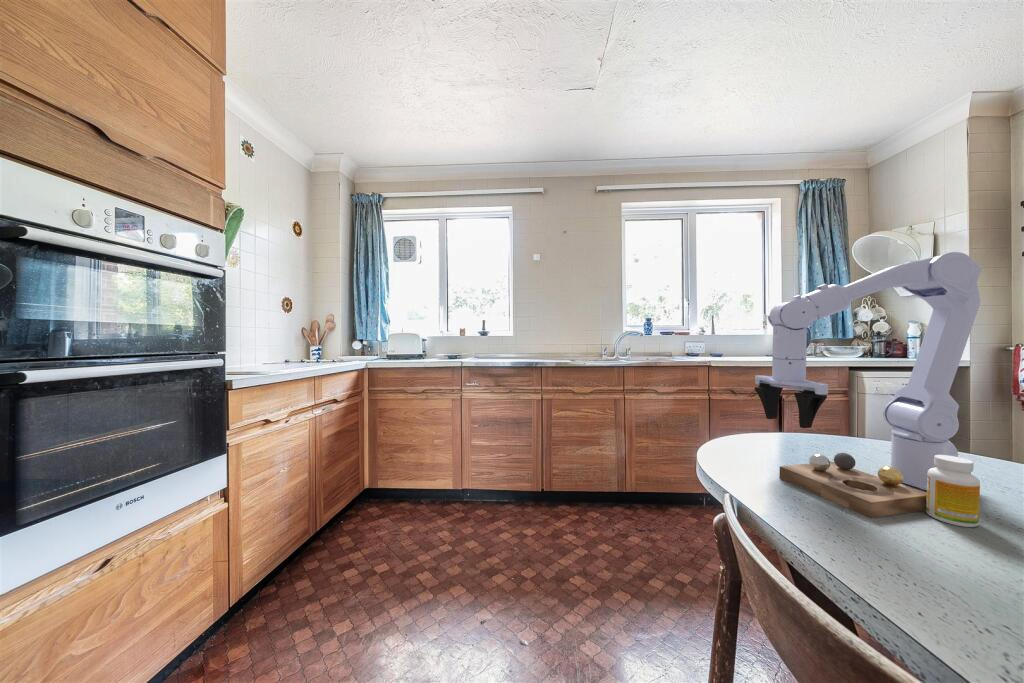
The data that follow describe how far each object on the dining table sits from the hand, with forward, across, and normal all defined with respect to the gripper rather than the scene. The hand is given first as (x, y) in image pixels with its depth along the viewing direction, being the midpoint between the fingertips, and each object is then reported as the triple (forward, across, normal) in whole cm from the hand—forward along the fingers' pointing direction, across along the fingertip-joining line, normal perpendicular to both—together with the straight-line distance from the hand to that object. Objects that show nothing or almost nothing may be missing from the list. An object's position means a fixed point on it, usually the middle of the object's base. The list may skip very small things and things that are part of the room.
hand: (787, 422), depth 78 cm
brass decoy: (+6, +14, +6) cm, 17 cm away
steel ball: (+6, +6, 0) cm, 9 cm away
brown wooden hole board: (+10, +11, +1) cm, 15 cm away
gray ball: (+6, +7, +6) cm, 11 cm away
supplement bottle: (+11, +22, +7) cm, 25 cm away
